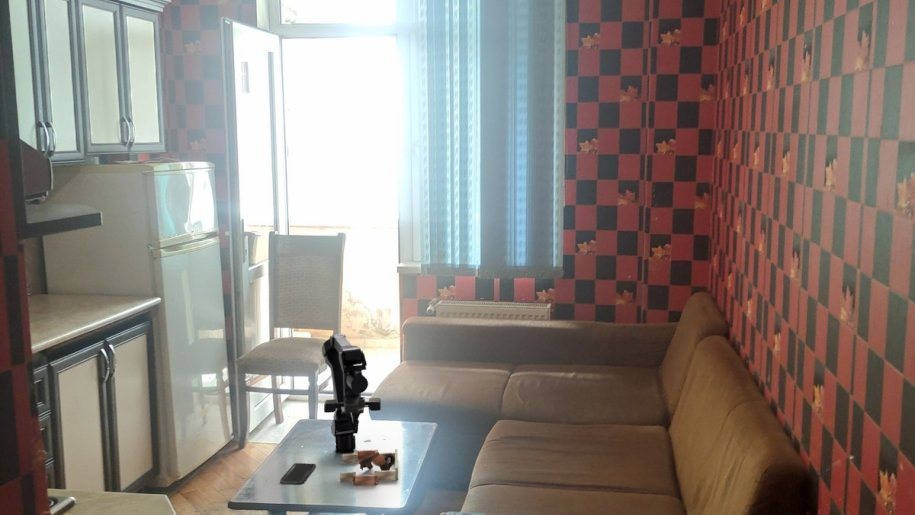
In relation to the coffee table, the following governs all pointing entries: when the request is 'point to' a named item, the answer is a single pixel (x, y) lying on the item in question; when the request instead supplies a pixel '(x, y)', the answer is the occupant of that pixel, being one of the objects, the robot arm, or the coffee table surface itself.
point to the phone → (298, 473)
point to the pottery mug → (378, 461)
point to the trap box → (368, 478)
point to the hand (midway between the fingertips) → (353, 429)
